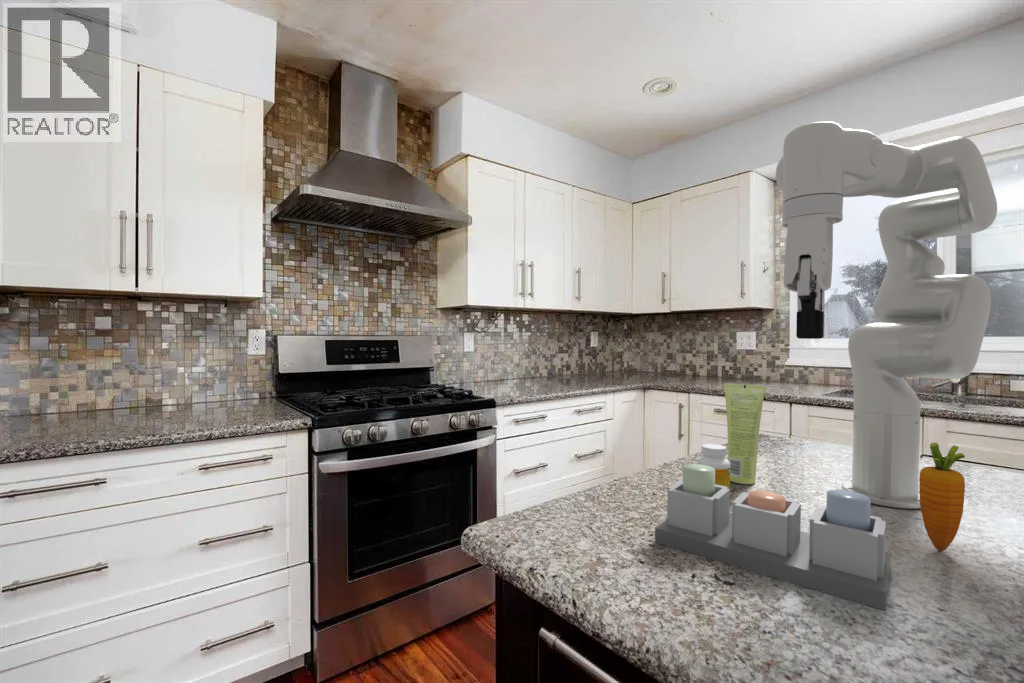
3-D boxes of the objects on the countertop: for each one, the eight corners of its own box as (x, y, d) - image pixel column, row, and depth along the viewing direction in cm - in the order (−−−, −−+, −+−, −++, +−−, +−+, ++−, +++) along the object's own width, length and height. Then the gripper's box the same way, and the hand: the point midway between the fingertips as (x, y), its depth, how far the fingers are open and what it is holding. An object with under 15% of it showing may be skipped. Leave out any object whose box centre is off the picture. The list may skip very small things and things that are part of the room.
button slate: (828, 525, 62) (829, 487, 62) (871, 535, 59) (871, 495, 59) (823, 537, 59) (824, 496, 59) (868, 547, 56) (869, 504, 56)
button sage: (688, 494, 74) (689, 462, 74) (718, 501, 71) (719, 467, 71) (677, 502, 70) (678, 468, 70) (708, 510, 67) (709, 474, 67)
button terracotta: (752, 523, 68) (753, 488, 68) (787, 532, 65) (788, 495, 65) (743, 533, 65) (744, 496, 64) (780, 543, 62) (781, 504, 62)
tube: (746, 476, 99) (747, 382, 99) (764, 484, 94) (765, 385, 94) (722, 478, 98) (723, 382, 98) (739, 486, 93) (740, 385, 93)
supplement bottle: (733, 507, 82) (734, 450, 82) (700, 505, 83) (700, 449, 83) (725, 496, 87) (726, 443, 87) (694, 494, 88) (695, 442, 88)
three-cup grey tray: (685, 516, 78) (686, 473, 78) (890, 568, 61) (891, 513, 61) (654, 541, 69) (655, 493, 69) (885, 610, 52) (886, 546, 52)
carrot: (952, 546, 67) (955, 439, 67) (973, 562, 63) (976, 448, 62) (909, 541, 69) (912, 437, 69) (926, 556, 64) (929, 444, 64)
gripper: (792, 225, 79) (790, 337, 79) (771, 207, 67) (769, 339, 68) (848, 218, 74) (846, 338, 74) (835, 198, 62) (833, 339, 63)
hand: (809, 338), depth 71 cm, fingers closed
